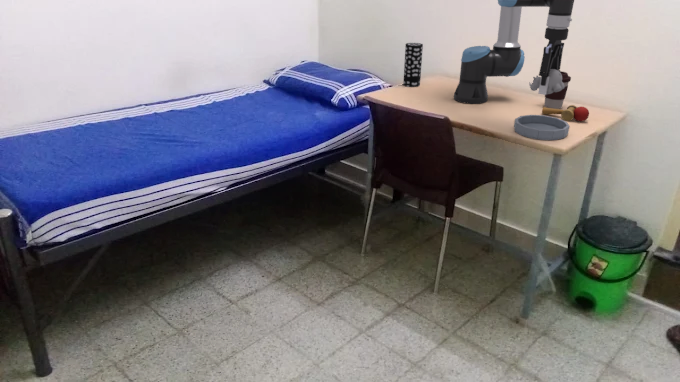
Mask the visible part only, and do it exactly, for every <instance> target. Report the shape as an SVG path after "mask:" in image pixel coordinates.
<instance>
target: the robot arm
mask: <svg viewBox="0 0 680 382" xmlns="http://www.w3.org/2000/svg"><path fill="white" fill-rule="evenodd" d="M574 2H575V0H497V4H498V5H499V6H500V13H499V22H498V31H497V32H498V33H497V39H496V42H495V43H493V46H492V49H491V47H490V46H488V45H482V46H481V45H477V46H476V45H474V46H469V47H467V48H465V49H464V50H463V51H462V55H461V59H460V62H461V63H460V73H459V81H458V84H457V87H456V89H455V92H454V94H453V99H454V101H456V102H458V103H459V102H460V103H463V104H470V105H473V104H474V105H478V104H479V105H480V104H484V103H486V102H488V99H489V92H488V89H487V79H488V78H487V77H489V78H490V77H492V78H494V77H505V78H508V77H515V76H517V75H519V73H521V71H522V69H523V67H524V63H525V59H526V58H525V52H524V50H523V49H522V48H521V44H520V43H519V42H518V41H519V31H520V25H521V17H522V16H521V15H522V10H523V9H522V8H523V7H525V8H527V7H532V8H533V7H534V8H535V7H537V8H538V7H539V8H540V7H541V8H542V7H546V8H547V7H548V8H549V9H548V13H547V19H546V28H545V31H544V39H546V40H548V43H547V45H546V46H544V47H543V51H542V53H543V54H542V57H541V62H540V63H541V64H540V67H539V73H538V77H541V80H540V86H539V88H538V95H544V96H545V95H546V94H547V88H548V82H549V72H550V69H556V70H558V71H559V72H560V71H561V65H562V58H563V52H564V51H563V50H564V46H565V42H562V41H566V40H568V36H569V30H570V29H569V27H570V25H571V24H570V23H571V22H572V21H573V19H572V13H573V8H574Z"/></svg>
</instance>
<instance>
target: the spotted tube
mask: <svg viewBox="0 0 680 382" xmlns="http://www.w3.org/2000/svg"><path fill="white" fill-rule="evenodd" d="M423 45H424V44H423V43H419V42H407V43H405V46H404V47H405V48H404V49H405V50H404V66H403V67H404V68H403V82H402V83H403V84H402V85H403V86H404V87H407V88H418V87H420V86H421V77H422V76H421V75H422V62H423V61H422V60H423V49H424V46H423Z"/></svg>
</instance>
